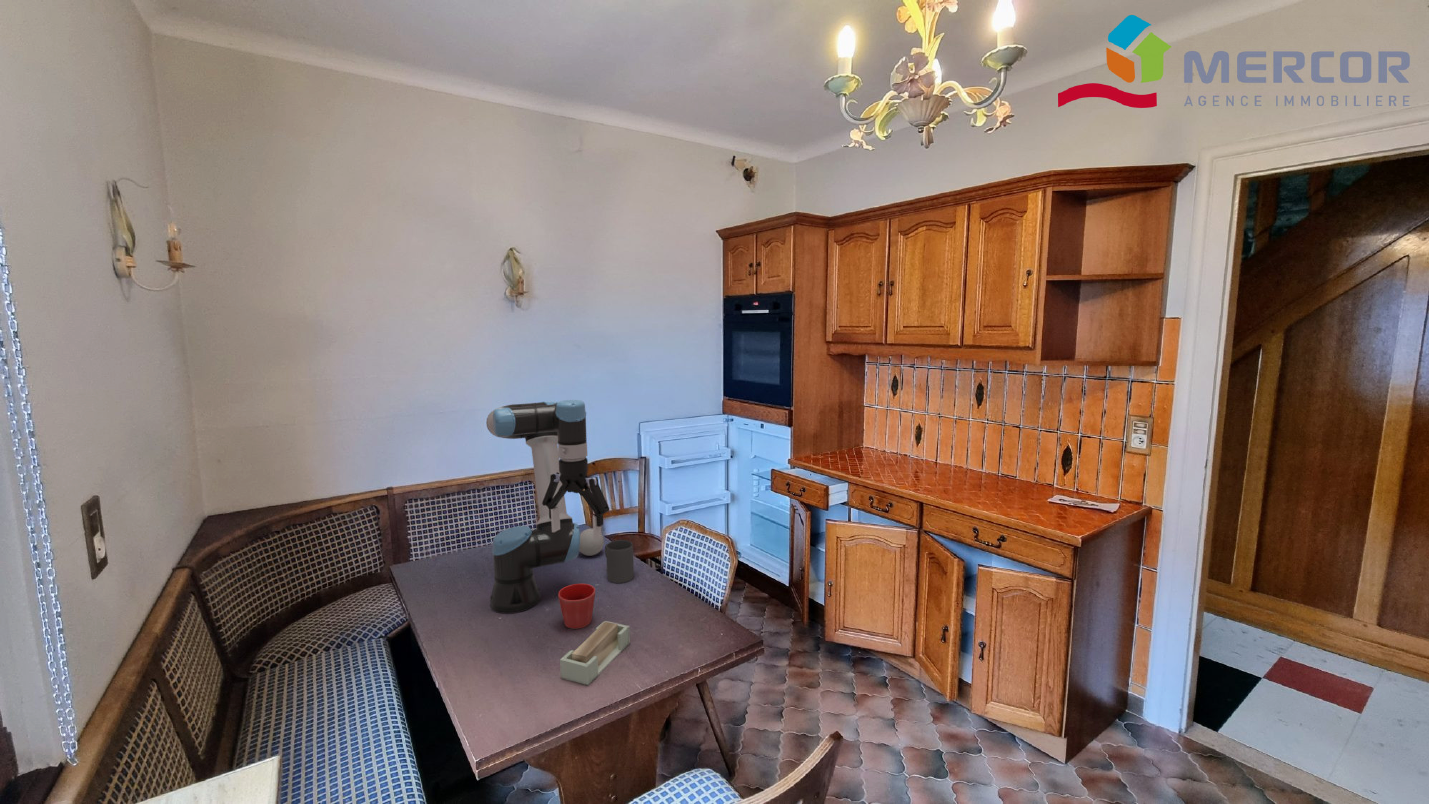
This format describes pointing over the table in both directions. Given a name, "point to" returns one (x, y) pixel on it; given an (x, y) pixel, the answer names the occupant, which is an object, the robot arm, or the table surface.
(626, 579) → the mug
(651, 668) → the table surface
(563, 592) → the flower pot
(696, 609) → the table surface
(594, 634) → the wooden block
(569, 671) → the green tray
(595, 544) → the ball
